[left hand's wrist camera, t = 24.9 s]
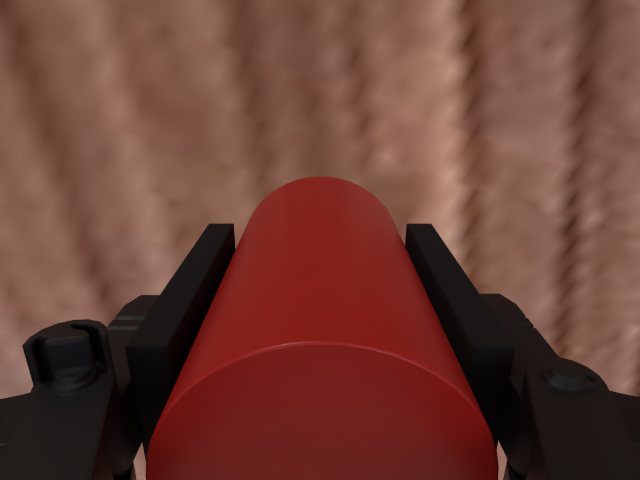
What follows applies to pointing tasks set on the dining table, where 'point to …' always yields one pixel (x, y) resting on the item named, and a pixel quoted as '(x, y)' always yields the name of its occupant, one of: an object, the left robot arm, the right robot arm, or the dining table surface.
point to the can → (321, 358)
